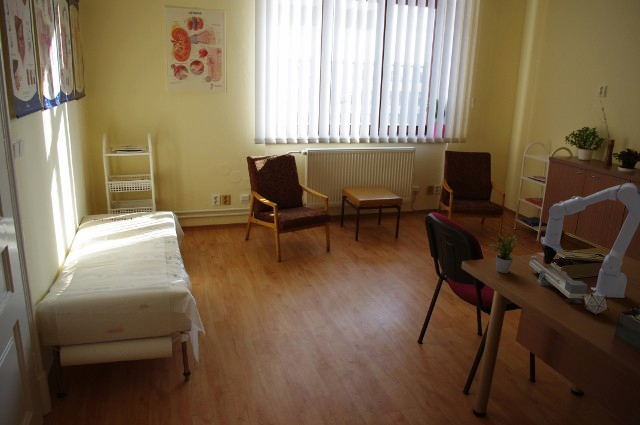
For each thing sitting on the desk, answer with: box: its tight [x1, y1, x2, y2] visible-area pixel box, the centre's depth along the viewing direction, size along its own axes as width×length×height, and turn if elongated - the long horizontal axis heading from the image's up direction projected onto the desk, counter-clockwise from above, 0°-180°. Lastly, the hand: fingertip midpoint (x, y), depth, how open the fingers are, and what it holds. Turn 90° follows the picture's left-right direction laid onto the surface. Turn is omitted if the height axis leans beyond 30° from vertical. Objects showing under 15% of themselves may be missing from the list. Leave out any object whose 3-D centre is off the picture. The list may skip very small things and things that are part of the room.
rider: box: [535, 252, 550, 267], centre depth 210 cm, size 6×3×5 cm, turn 3°
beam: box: [528, 255, 589, 299], centre depth 199 cm, size 33×8×5 cm, turn 2°
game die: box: [582, 290, 611, 317], centre depth 178 cm, size 9×8×10 cm
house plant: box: [488, 233, 521, 274], centre depth 213 cm, size 14×14×16 cm
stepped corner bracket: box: [533, 268, 583, 306], centre depth 199 cm, size 31×11×5 cm, turn 2°
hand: (547, 263), depth 206 cm, fingers closed
